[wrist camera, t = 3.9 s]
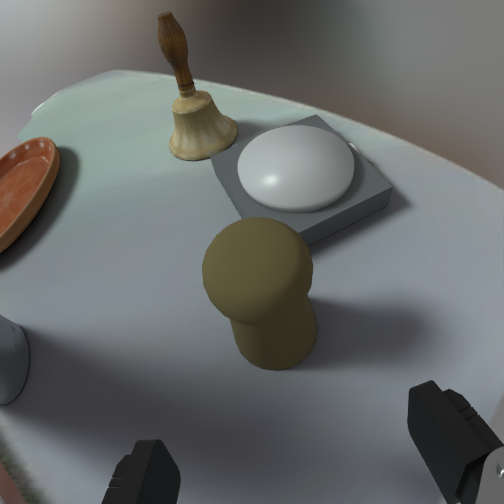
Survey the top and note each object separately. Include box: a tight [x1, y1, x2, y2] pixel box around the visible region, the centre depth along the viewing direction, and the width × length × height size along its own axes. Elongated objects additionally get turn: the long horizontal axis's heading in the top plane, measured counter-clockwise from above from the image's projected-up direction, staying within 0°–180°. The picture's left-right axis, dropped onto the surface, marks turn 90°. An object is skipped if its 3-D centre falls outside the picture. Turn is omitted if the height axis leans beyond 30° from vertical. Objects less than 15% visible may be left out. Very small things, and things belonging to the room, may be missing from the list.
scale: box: [210, 115, 393, 246], centre depth 28 cm, size 12×12×4 cm
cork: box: [202, 217, 318, 371], centre depth 19 cm, size 6×6×11 cm
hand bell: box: [158, 12, 238, 160], centre depth 29 cm, size 8×8×16 cm
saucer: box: [0, 137, 60, 253], centre depth 37 cm, size 23×23×4 cm
